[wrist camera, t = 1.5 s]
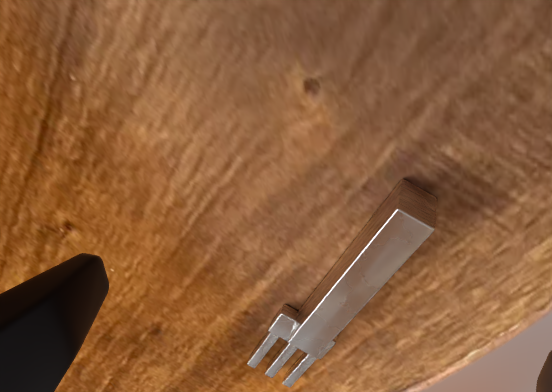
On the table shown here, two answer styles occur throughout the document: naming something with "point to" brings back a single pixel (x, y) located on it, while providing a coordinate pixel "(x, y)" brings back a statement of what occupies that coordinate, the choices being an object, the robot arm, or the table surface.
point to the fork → (350, 281)
